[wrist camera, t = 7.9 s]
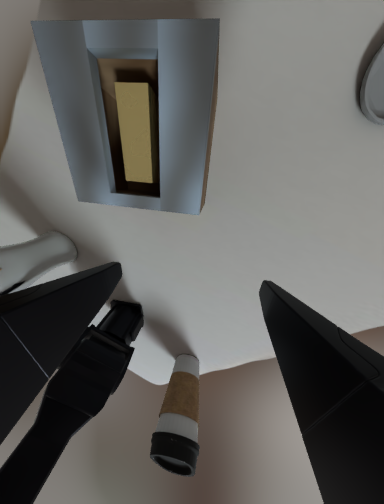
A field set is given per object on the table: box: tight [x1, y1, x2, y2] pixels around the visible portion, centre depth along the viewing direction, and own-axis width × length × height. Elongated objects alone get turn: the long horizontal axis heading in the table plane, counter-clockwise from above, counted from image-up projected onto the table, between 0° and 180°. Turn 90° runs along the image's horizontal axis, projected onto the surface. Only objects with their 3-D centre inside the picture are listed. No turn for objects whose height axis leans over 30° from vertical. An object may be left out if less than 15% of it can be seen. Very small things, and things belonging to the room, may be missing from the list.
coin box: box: [31, 19, 220, 215], centre depth 13 cm, size 11×10×8 cm
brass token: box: [114, 82, 160, 183], centre depth 13 cm, size 2×6×6 cm, turn 176°
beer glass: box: [0, 231, 77, 296], centre depth 18 cm, size 7×7×15 cm
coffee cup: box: [150, 354, 200, 477], centre depth 29 cm, size 8×8×15 cm
